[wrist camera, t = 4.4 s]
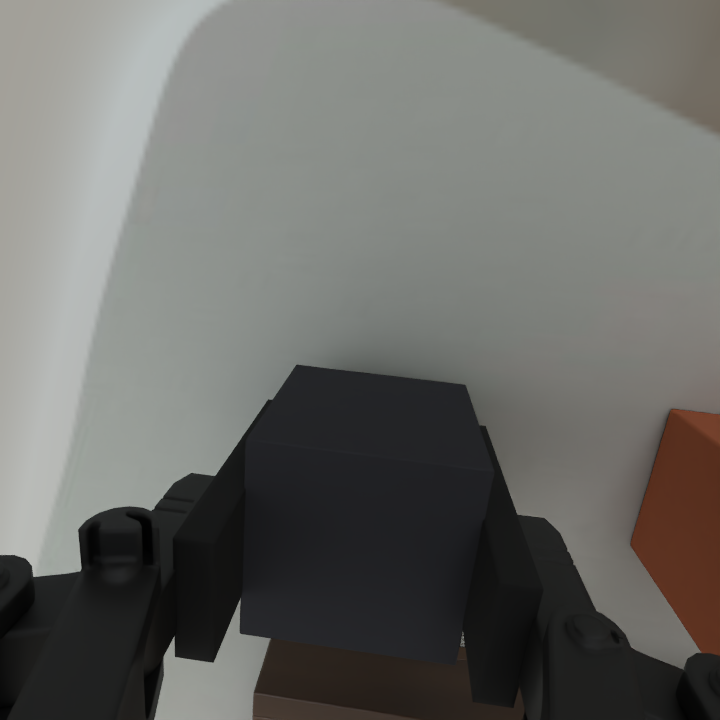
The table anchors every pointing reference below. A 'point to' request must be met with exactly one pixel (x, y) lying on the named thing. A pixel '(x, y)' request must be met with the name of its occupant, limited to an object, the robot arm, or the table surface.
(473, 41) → the table surface
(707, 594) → the terracotta cube
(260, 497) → the charcoal block
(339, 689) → the brown wooden divided tray
